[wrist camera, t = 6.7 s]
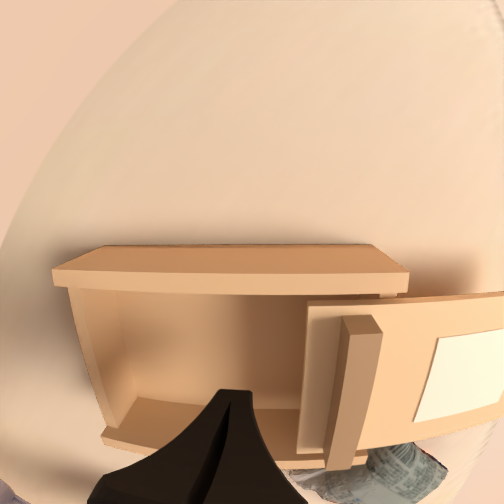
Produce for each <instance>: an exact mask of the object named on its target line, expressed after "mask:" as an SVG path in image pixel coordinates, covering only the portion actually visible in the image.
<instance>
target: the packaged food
mask: <svg viewBox="0 0 504 504" xmlns="http://www.w3.org/2000/svg"><path fill="white" fill-rule="evenodd" d="M367 453H368V457H367V460H366V463H365V464H361V465H352V466H351V468H350V469H346V470H334V471H325V468H313V469H299V470H294V471H289V475H290V477H291V478H292V479H293V481H295V482H296V483H297V484H298V485H299V486H301V487H302V488H303V489H309V490H313V491H316V492H317V494H318V495H319V496H320V497H321V498H322V499H324V500H327V501H330V502H334V503H339V504H416V503H417V502H419V501H420V500H421V499H423V498H424V497H425V496H427V495H428V494H429V493H430V492H432V491H433V490H434V489H436V488H437V487H438V486H439V485H440V483H441V482H442V481H443V480H444V479H445V477H446V475H447V473H448V470H447V468H446V467H445V466H443V465H442V464H441V463H440V462H438V461H437V459H435V458H434V457H433V456H431V455H430V454H428V453H425V451H424V450H422V449H420V448H418V447H417V446H416V444H415V443H414V442H408V443H403V444H397V445H391V446H384V447H377V448H370V449H367Z"/></svg>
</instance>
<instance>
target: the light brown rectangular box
mask: <svg viewBox="0 0 504 504" xmlns="http://www.w3.org/2000/svg"><path fill="white" fill-rule="evenodd" d="M51 271H52V276H53V282H54V286H59V287H68V293H69V298H70V303H71V308H72V312H73V317H74V321H75V326H76V330H77V334H78V338H79V342H80V346H81V349H82V353H83V357H84V360H85V364H86V367H87V370H88V374H89V377H90V380H91V383H92V386H93V389H94V392H95V395H96V398H97V401H98V404H99V406H100V409H101V412H102V415H103V417H104V420H105V422H106V425H107V427H106V428H105V430H104V431H103V433H102V434H101V436H100V437H101V439H102V441H103V443H104V445H107V446H110V447H114V448H118V449H122V450H126V451H130V452H134V453H139V454H143V455H148V456H150V455H151V454H153V453H154V452H156V451H157V450H159V449H160V448H162V447H163V446H165V445H166V444H168V443H169V442H170V441H171V440H173V439H174V438H175V437H176V436H178V435H179V434H180V433H181V432H182V431H183V430H184V429H185V428H186V427H187V426H188V425H189V424H190V423H191V422H192V421H193V420H194V419H195V418H196V417H197V416H198V415H199V414H200V413H201V411H202V410H203V409H204V408H205V407H206V405H207V404H208V403H209V402H210V400H211V399H212V398H213V396H214V395H215V394H216V392H217V391H218V390H219V389H234V390H250V391H251V392H253V409H254V414H255V418H256V421H257V424H258V427H259V430H260V433H261V435H262V438H263V440H264V442H265V444H266V446H267V448H268V450H269V452H270V454H271V456H272V458H273V459H274V461H275V463H276V464H277V466H278V467H279V469H313V468H325V463H324V455H323V453H309V454H296V443H297V434H298V424H299V414H300V403H301V391H302V379H303V365H304V351H305V334H306V316H307V301H313V300H363V299H392V298H397V293H407V290H408V282H409V274H410V272H408V271H407V270H406V269H404V268H403V267H402V266H400V265H399V264H398V263H396V262H395V261H394V260H392V259H391V258H390V257H388V256H387V255H386V254H384V253H383V252H381V251H380V250H379V249H377V248H376V247H375V246H373V245H321V244H263V245H105V246H103V247H100V248H98V249H96V250H93V251H91V252H89V253H86V254H84V255H82V256H80V257H77V258H75V259H73V260H71V261H68V262H66V263H64V264H62V265H59V266H57V267H55V268H53V269H51ZM367 457H368V453H367V449H362V450H356V453H355V456H354V459H353V462H352V465H361V464H365V463H366V460H367ZM352 465H351V466H352Z"/></svg>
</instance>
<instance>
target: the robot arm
mask: <svg viewBox="0 0 504 504" xmlns="http://www.w3.org/2000/svg"><path fill="white" fill-rule="evenodd" d="M0 504H30V503H29V502H27V501H25V500H24V499H22V498H20V497H19V496H17V495H15V493H14V491H13V490H12V489H11V488H10V487H9V486H8V485H7V484H6V483H5V482H4V481H2V480H1V479H0ZM87 504H308V502H307V501H306V500H305V499H304V498H303V497H302V496H301V495H300V494H299V493H298V492H297V490H296V489H295V488H294V487H293V486H292V485H291V483H290V482H289V481H288V480H287V479H286V477H285V476H284V474H283V473H282V472H281V470H280V469H279V467H278V466H277V464H276V463H275V461H274V459H273V458H272V456H271V454H270V452H269V450H268V448H267V446H266V444H265V442H264V440H263V438H262V435H261V433H260V430H259V427H258V424H257V421H256V418H255V414H254V409H253V392H251V391H250V390H234V389H219V390H218V391H217V392H216V394H215V395H214V396H213V398H212V399H211V400H210V402H209V403H208V404H207V405H206V407H205V408H204V409H203V410H202V411H201V413H200V414H199V415H198V416H197V417H196V418H195V419H194V420H193V421H192V422H191V423H190V424H189V425H188V426H187V427H186V428H185V429H184V430H183V431H182V432H181V433H180V434H179V435H178V436H176V437H175V438H174V439H173V440H171V441H170V442H169V443H168V444H166V445H165V446H163V447H162V448H160V449H159V450H157V451H156V452H154V453H153V454H151V455H150V456H148V457H146V458H144V459H142V460H140V461H138V462H136V463H134V464H132V465H130V466H128V467H125V468H123V469H120V470H117V471H114V472H111V473H108V474H105V475H103V476H102V478H101V479H100V480H99V481H98V483H97V484H96V486H95V488H94V489H93V491H92V493H91V495H90V497H89V498H88V500H87Z"/></svg>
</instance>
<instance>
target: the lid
mask: <svg viewBox="0 0 504 504" xmlns="http://www.w3.org/2000/svg"><path fill="white" fill-rule="evenodd" d="M503 416H504V291H500V292H488V293H476V294H463V295H448V296H432V297H414V298H392V299H363V300H313V301H307V316H306V334H305V351H304V365H303V379H302V391H301V403H300V414H299V424H298V434H297V443H296V454H309V453H323V455H324V463H325V471H334V470H346V469H350V468H351V465H352V462H353V459H354V456H355V453H356V450H362V449H370V448H377V447H384V446H391V445H397V444H403V443H408V442H413V441H418V440H423V439H428V438H432V437H436V436H441V435H445V434H449V433H452V432H456V431H460V430H463V429H467V428H470V427H473V426H477V425H480V424H483V423H486V422H489V421H492V420H495V419H498V418H501V417H503Z"/></svg>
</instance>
